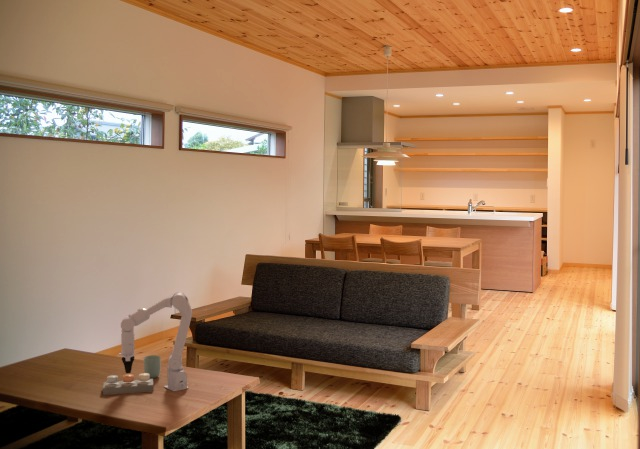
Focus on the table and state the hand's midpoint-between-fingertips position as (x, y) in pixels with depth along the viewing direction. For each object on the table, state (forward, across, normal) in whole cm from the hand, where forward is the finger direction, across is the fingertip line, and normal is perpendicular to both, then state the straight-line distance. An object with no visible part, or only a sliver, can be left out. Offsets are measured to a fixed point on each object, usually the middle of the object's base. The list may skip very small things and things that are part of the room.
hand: (128, 372), depth 311 cm
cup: (+8, -18, +11) cm, 23 cm away
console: (+8, 0, 0) cm, 8 cm away
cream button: (+4, 0, +7) cm, 8 cm away
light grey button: (+4, 0, -7) cm, 8 cm away
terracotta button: (+4, 0, 0) cm, 4 cm away
